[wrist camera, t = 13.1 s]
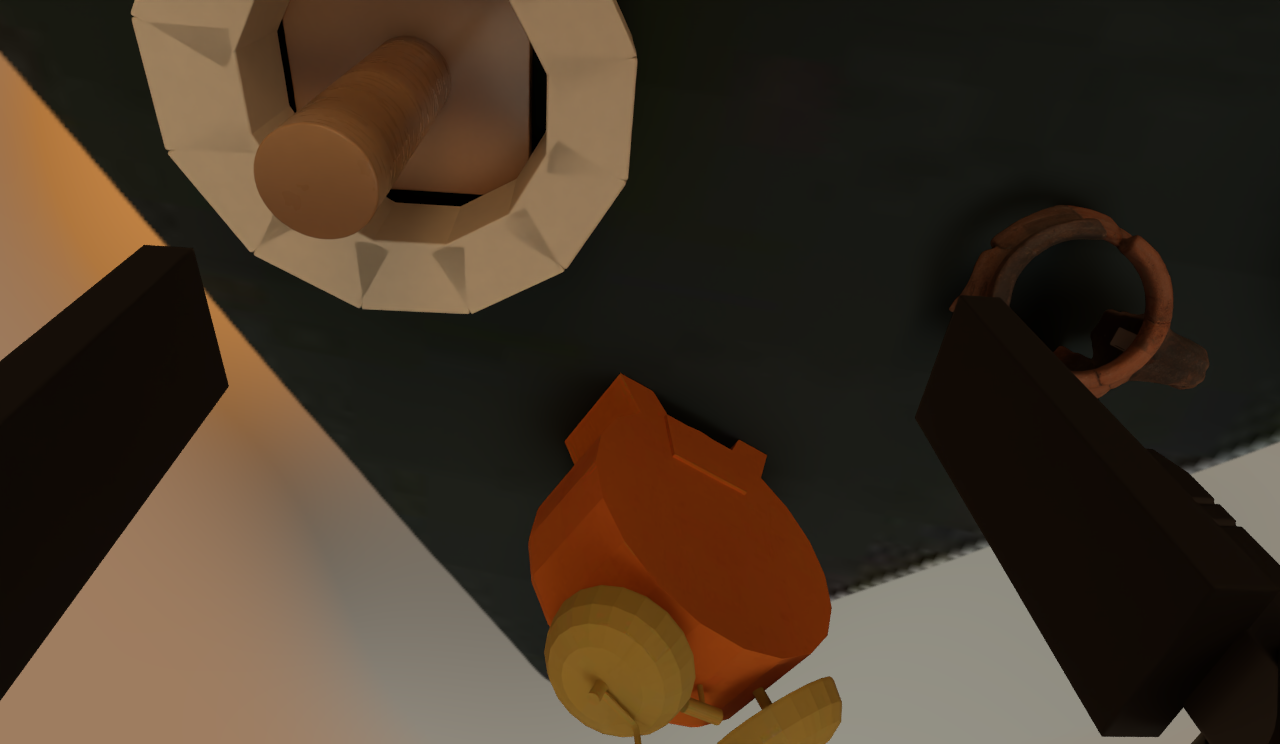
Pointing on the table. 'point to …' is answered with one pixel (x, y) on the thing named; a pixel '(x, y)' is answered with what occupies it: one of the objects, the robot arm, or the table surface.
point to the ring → (398, 232)
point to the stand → (395, 107)
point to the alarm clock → (676, 582)
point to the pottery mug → (1119, 337)
